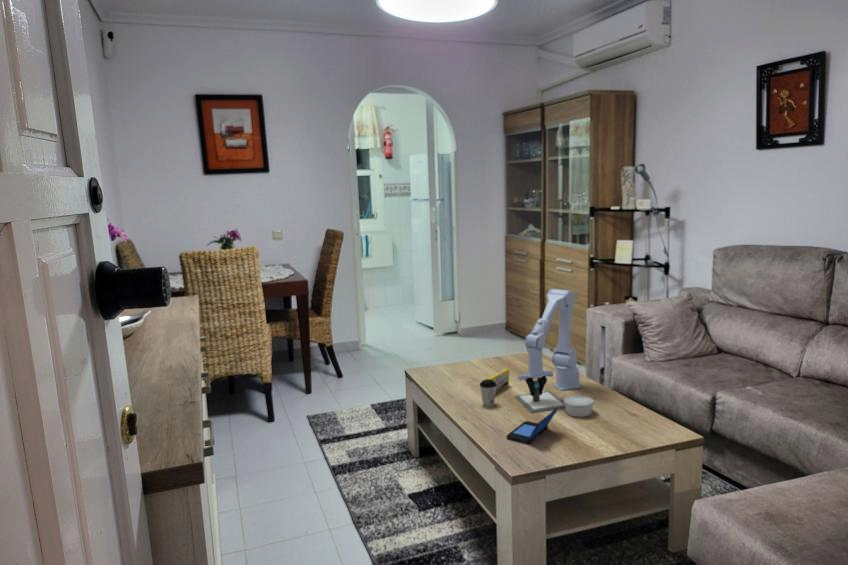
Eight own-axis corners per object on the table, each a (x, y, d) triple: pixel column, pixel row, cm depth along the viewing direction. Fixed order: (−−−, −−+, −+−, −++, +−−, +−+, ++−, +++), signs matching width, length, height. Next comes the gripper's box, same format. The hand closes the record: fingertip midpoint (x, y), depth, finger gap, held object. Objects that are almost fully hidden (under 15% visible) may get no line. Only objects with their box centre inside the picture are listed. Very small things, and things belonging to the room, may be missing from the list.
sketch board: (549, 392, 247) (549, 390, 247) (569, 407, 230) (569, 405, 230) (514, 397, 244) (514, 395, 244) (531, 412, 226) (531, 410, 226)
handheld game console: (525, 424, 217) (525, 400, 215) (558, 431, 209) (558, 407, 207) (505, 439, 205) (504, 415, 203) (539, 448, 197) (538, 423, 195)
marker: (538, 398, 238) (537, 380, 237) (541, 401, 235) (540, 382, 234) (531, 399, 238) (530, 381, 236) (534, 402, 235) (533, 383, 233)
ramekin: (593, 408, 228) (593, 395, 227) (593, 419, 217) (593, 406, 216) (564, 406, 231) (564, 394, 230) (563, 417, 220) (563, 404, 220)
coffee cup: (496, 408, 233) (495, 384, 231) (479, 407, 234) (478, 384, 233) (497, 401, 240) (497, 378, 238) (481, 401, 241) (480, 378, 240)
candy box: (491, 398, 245) (490, 379, 243) (486, 397, 246) (486, 378, 244) (509, 386, 257) (509, 368, 256) (505, 385, 259) (504, 367, 257)
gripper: (522, 367, 228) (523, 400, 231) (556, 363, 231) (556, 395, 234) (515, 362, 235) (516, 394, 237) (548, 358, 238) (549, 390, 241)
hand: (536, 394), depth 236 cm, fingers closed on marker, 3 cm apart
